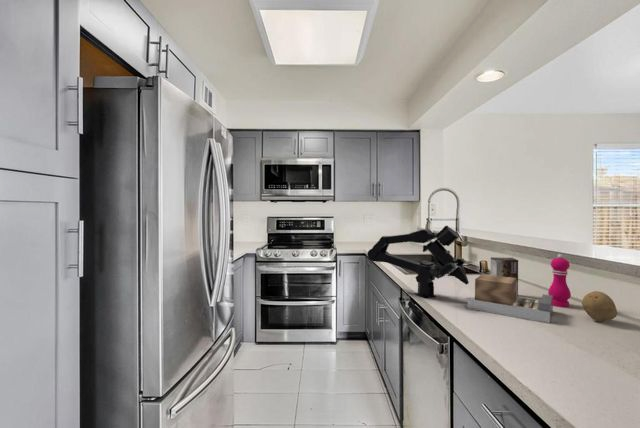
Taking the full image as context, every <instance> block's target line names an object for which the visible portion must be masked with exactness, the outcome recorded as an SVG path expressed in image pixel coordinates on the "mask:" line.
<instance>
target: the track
mask: <svg viewBox="0 0 640 428" xmlns="http://www.w3.org/2000/svg"><path fill="white" fill-rule="evenodd" d="M467 309H469V310H475V311H480V312H486V313H490V314H497V315H502V316H508V317H512V318H513V317H514V318H517V319H518V318H519V319H525V320H529V321H530V320H531V321H536V322H542V323H546V324H550V323H551V319H552V316H553V310H554V307H553V296H552V295H549V294H542V296H541V299H538V298H537V299H536V298H531V297H524V296H519V295H518V296H516V300H515V301H514V303H513V304H512V305H507V304H500V303H494V302H488V301H482V300H476V299H475V298H469V297H468V298H467Z"/></svg>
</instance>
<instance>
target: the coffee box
mask: <svg viewBox="0 0 640 428" xmlns="http://www.w3.org/2000/svg"><path fill="white" fill-rule="evenodd" d="M490 275H494V276H502V277H511V278H516V296H518V297H519V260H518V259H516V258H514V257H492V256H491V257H490Z"/></svg>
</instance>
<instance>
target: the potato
mask: <svg viewBox="0 0 640 428" xmlns="http://www.w3.org/2000/svg"><path fill="white" fill-rule="evenodd" d="M581 306H582V308H583V310H584V312H586V314H587V315H588V316H589V317H590V319H592V320H593V321H595V322H599V323H603V322H605V321H610V320H613V319H615V318H616V317H617V316H618V311H617V307H616V305H615V302H614V301H613V299H612V298H611V297H610V296H609V295H608V294H606V293H605V292H604V291H603V292H602V291H597V290H596V291H594V290H593V291H591V292H589V293H587V294H586V295H584V297H583V298H582V300H581Z"/></svg>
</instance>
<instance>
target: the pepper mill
mask: <svg viewBox="0 0 640 428" xmlns="http://www.w3.org/2000/svg"><path fill="white" fill-rule="evenodd" d="M563 257H564V256H563V254H562V253H558V254H557V257H556V258H553V259H552V260H551V261H550V266H551V268H552V272H551V274H552V275H553V280H552V283H551V285H550V286H549V288H548V292H547V295H552V296H553V306H554V307H558V308H568V307H569V306H570V301H569V299H571V297H572V294H571V291H570V288H569V286H568V284H567V283H568V282H567V276H568V270H569V269H570V262H569V261H568V260H567V259H566V258H563Z"/></svg>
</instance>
